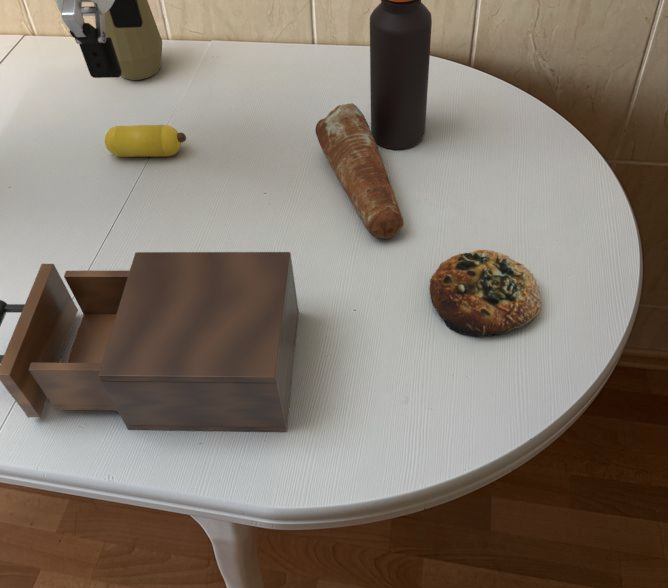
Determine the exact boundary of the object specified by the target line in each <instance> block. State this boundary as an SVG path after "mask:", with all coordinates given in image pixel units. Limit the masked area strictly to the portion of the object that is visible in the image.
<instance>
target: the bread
mask: <svg viewBox="0 0 668 588" xmlns="http://www.w3.org/2000/svg"><path fill="white" fill-rule="evenodd" d="M314 131H315V135H316V138H317V141H318V144H319V146H320V148H321V151H322V152H323V154H324V155H325V157H326V159H327V162H328V164H329V166H330V167H331V170H332V171H333V173H334V174H335V176H336V178H337V180H338V181H339V183H340V185H341V187H342V188H343V191H345V193H346V194H347V197H348V198H349V201H350V202H351V204H352V206H353V207H354V209H355V211H356V212H357V214H358V216H359V217H360V219H361V221H362V222H363V224H364V226H365V227H366V230H367V231H368V233H370V234H371V236H373V237H377V238H379V239H390V238H393V237H395V236H396V235H397V234H398V232H400V230H401V229H402V228H403V226H404V220H403V215H402V212H401V210H400V207H399V204H398V202H397V199H396V198H397V197H396V195H395V192H394V189H393V186H392V184H391V180H390V178H389V176H388V173H387V169H386V168H385V165H384V162H383V159H382V156H381V154H380V151H379V148H378V144H377V142H376V141H375V140H374V138H373V136H372V133H371V127H370V125H369V123H368V121H367V119H366V117H365V115H364V114H363V112H362V111H361V110H360V108H359V107H358V106H357V105H356V104H354V103H353V102H352V103H347V104H339V105H337V106H336V107H335V108H334V109H332V110H331V111H330V112H329V113H328V114H327V115H326V116H325V117H324V118H321V119H320V120H318V121H317V123H316V125H315V130H314Z"/></svg>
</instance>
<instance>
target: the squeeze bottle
mask: <svg viewBox="0 0 668 588" xmlns="http://www.w3.org/2000/svg"><path fill="white" fill-rule="evenodd" d="M137 2H138V6H139V10H140V13H141V17H142V20H143V24H142V26H141V27H133V28H117V27H115V26H114V24H113V21H112V18H111V14H110V11H109V10H108V11H107V12H106V13H105V25H106V38H111V40H112V43H113V46H114V49H115V52H116V55H117V58H118V61H119V64H120V68H121V71H122V73H121V76H120V77H122V78H123V79H126V80H130V81H139V80H140V81H141V80H145V79H149V78H150V77H152V76H154V75H156V74H157V73H158V72H159V71H160V69H161V66H162V55H163V39H162V36H161V34H160V31H159V28H158V26H157V23H156V19H155V18H154V15H153V12H152V8H151V6H150V4H149V1H148V0H137ZM93 6H96V3H93Z"/></svg>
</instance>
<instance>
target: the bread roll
mask: <svg viewBox="0 0 668 588" xmlns="http://www.w3.org/2000/svg"><path fill="white" fill-rule="evenodd" d="M428 288H429V294H430V301H431V304H432V306H433V308H434V309H435V310H436V311H437V313H438V315H439V317H440V318H441V319H442V321H443V322H444V324H445V325H446V327H447V328H449V329H450V330H451V331H454V332H456V333H458V334H462V335H468V336H472V337H480V336H482V337H494V336H498V335H499V336H500V335H504V334H509V333H510V332H511V331H512V330H514V329H520V328H523V327H525V326H527V325H528V324H530V323H531V322H532V321H533V320H534V318H536V316H537V315H538V314H539V313H540V311H541V308H542V305H541V293H540V289H539V286H538V282H537V279H536V278H535V276H534V273H532V272H531V270H530V269H528V268H527V266H525V265H524V264H523V263H521V262H518V261H516V260H515V259H512V258H511V257H510V256H508V255H507V254H503V253H500V252H498V251H495V250H488V249H477V250H474V251H469V252H463V253H458V254H455V255H453V256H451V257H450V258H447V259H446V260H445V261H442V262H441V263H440V264H439V266H438V268H437V269H436V270H435V272H433V274H432V276H431V277H430V279H429V287H428Z"/></svg>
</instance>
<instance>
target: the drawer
mask: <svg viewBox="0 0 668 588" xmlns="http://www.w3.org/2000/svg"><path fill="white" fill-rule="evenodd" d="M129 272H130V270H65V273H64V275H63V278H64V280H65V282H66V283H67V286H68V287H69V289H70V291H71V293H72V295H73V297H74V299H73V298H72V296H71V293H70V292H69V290H68V288H67V286H66V284H65V282H64V280H63V279H62V276H61V275H60V273H59V271H58V269H57V267H56V265H55V264H54V263H41V264H40V267H39V268H38V272H37V274H36V276H35V279H34V281H33V284H32V286H31V289H30V291H29V294H28V296H27V299H26V301H25V303H7V302H6V301H4V300H2V299H0V327H1V326H2V324H3V321H4V319H5V317H6V314H7V313H11V314H12V313H13V314H14V313H16V314H17V313H20V315H19V317H18V320H17V323H16V325H15V327H14V330H13V332H12V334H11V338H10V340H9V341H8V342H9V343H8V344H7V347H6V349H5V351H4V354H0V382H1V384H2V385H3V386H4V387H5V389H6V390H7V392H8V394H10V395H11V398H13V399H14V401H15V402H16V404H18V406H19V407H20V409H21V410H22V412H23V413H24V414H25V416H27V418H41V417H42V414H43V411H44V408H45V405H46V403H47V400H48V401H49V402H50V404H51V405H52V407H53V408H54V409H55V410H60V411H61V410H66V411H67V410H69V411H70V410H71V411H80V410H81V411H117V409H116V408H115V406H114V404H113V402H112V400H111V399H110V397H109V395H108V393H107V392H106V390H105V388H104V386H103V384H102V383H101V380H100V379H99V377H98V373H99V370H100V367H101V364H102V360H103V357H104V354H105V351H106V347H107V344H108V341H109V337H110V334H111V331H112V328H113V324H114V321H115V318H116V314H117V311H118V308H119V305H120V301H121V298H122V295H123V291H124V288H125V285H126V282H127V278H128V275H129ZM74 300H75V301H76V302H77V304H78V306H79V308H80V310H81V312H82V313H83V314H82V317H81V320H80V324H79V326H78V329H77V331H76V335H75V338H74V341H73V343H72V347H71V350H70V352H69V355H68V359H67V360H66V362H61V360H62V357H63V354H64V351H65V348H66V345H67V343H68V340H69V337H70V334H71V331H72V328H73V325H74V323H75V320H76V318H77V314H78V311H79V309H78V307H77V305H76V303H75V301H74Z"/></svg>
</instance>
